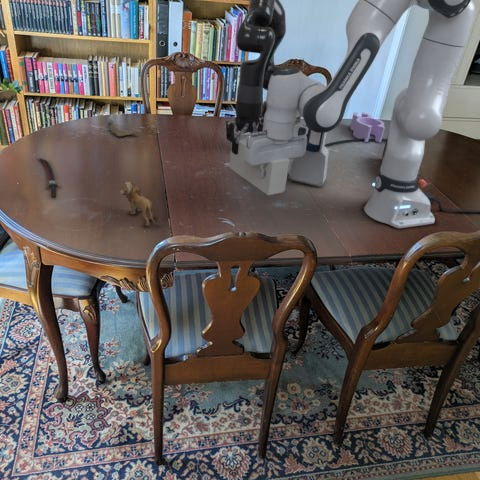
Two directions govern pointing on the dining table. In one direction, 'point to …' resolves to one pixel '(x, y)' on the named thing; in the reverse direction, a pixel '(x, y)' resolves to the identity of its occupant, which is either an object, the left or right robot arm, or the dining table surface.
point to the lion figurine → (137, 201)
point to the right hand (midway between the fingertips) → (272, 174)
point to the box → (267, 184)
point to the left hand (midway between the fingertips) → (244, 151)
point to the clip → (367, 127)
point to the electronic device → (311, 163)
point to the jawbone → (119, 132)
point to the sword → (52, 181)
